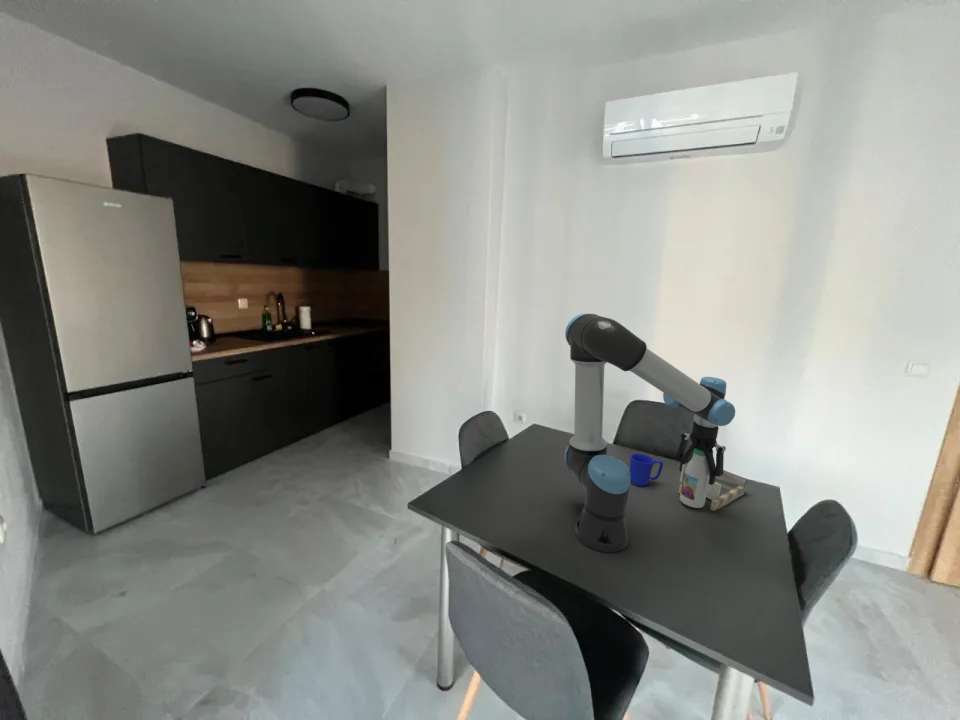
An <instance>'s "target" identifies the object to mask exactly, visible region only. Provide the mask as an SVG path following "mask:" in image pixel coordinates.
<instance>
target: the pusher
mask: <svg viewBox="0 0 960 720" xmlns="http://www.w3.org/2000/svg"><path fill="white" fill-rule="evenodd" d="M721 485H722V484H719V483H717V482H715V483H714V484H713V485H711V489H710V492H708V493H707V494H706V497H708V498H710V499H712V500H714V499H716V498H718V497H719V496H721V495H720V494H721V489H722V487H721Z"/></svg>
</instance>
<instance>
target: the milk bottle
mask: <svg viewBox="0 0 960 720" xmlns="http://www.w3.org/2000/svg"><path fill="white" fill-rule="evenodd" d="M708 452H709V451H708ZM687 463H688V464H687V466H686V468H685V472H684V477H683V482H681V484H682V488H681V493H680V495H679V500H680V502H681V503H683V504H684V505H686V506H688V507H690V508H695V509H701V508H703V507H704V506H705V504H706V500H707V499H706V494H707V493H704V488H705V483H706V478H707V474H709V468H708V464H707V459H706V455H705V454H704V451H702V450H700V449H697V448H694V450H693V454H692V456H691V459H690V460H688V462H687Z"/></svg>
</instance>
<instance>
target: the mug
mask: <svg viewBox="0 0 960 720" xmlns="http://www.w3.org/2000/svg"><path fill="white" fill-rule="evenodd" d="M629 458H630V459H629V470H630V483H632V484H633V485H636V486H641V487H644V486H645V487H646V486H647V485H648V484H649V481H650V480H652V481H655V480H658V479H659V478H660V475H661V473H662V470H663V466H664V462H663V461H662V460H656V459H655V460H654V458H652V457H651V456H649V455H646V454H643V453H633V454H631V455H630V457H629ZM655 464H659V468H658V472H657V473H656V475H655V476H654V477H651V474H652V471H653V467H654V465H655Z"/></svg>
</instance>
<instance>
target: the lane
mask: <svg viewBox="0 0 960 720" xmlns="http://www.w3.org/2000/svg"><path fill="white" fill-rule="evenodd" d="M715 481H716V482H719V483H722V484H725V485H727V486H729V487H732V488H734V489H732V490H730V491H727V492H725V493H723V494H721V495H719V497H718V498H716V499H714V500H712V501H711V504H710V508H712V509H714V510H716V509H717V508H719V507H721V506H722V505H723V504H725V503H726V502H728V501H729V500H731V499H732V498H734V497H735V496H737V495H739V494H740V493H741V492H743V491H744V490H746V491H747V486H748V482H749V480H748V479H747V478H745V477H742V476H740V475H737V474H734V473H732V472H730V471H728V470H725V469H723V475H721V476H719V477H717V476H716V479H715ZM681 488H682V483H681V484H679V487H678V492H677V494H678V493H681Z"/></svg>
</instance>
